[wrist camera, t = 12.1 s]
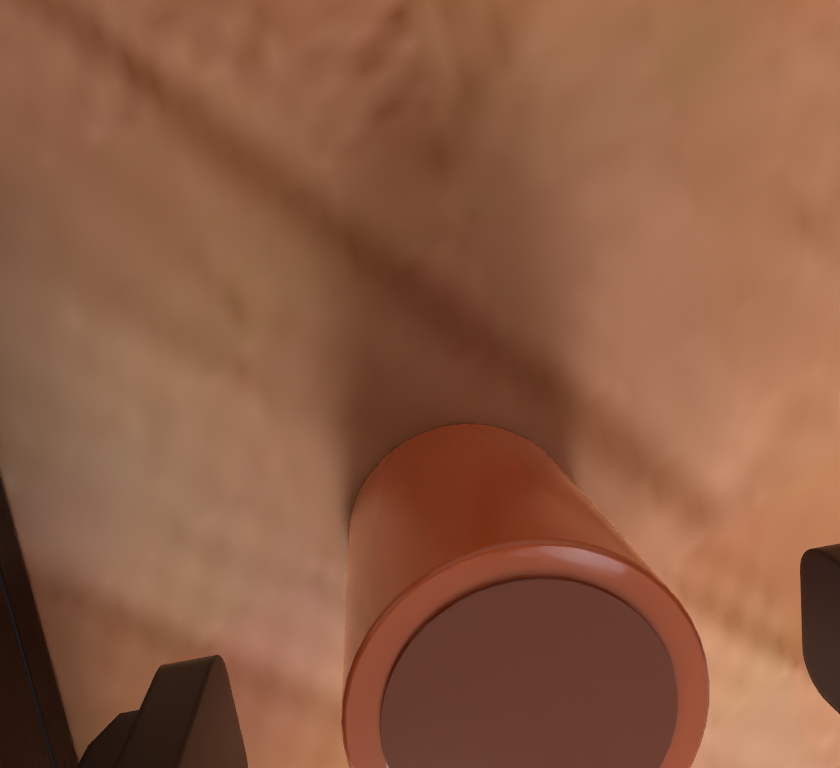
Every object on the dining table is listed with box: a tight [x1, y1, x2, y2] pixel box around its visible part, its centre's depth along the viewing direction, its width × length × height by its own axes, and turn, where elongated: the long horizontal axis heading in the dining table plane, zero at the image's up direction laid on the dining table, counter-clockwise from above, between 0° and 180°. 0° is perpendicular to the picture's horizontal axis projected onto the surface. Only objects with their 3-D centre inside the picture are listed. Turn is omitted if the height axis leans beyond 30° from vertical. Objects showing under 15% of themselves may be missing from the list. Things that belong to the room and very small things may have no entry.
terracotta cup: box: [341, 424, 709, 768], centre depth 12 cm, size 5×5×6 cm
